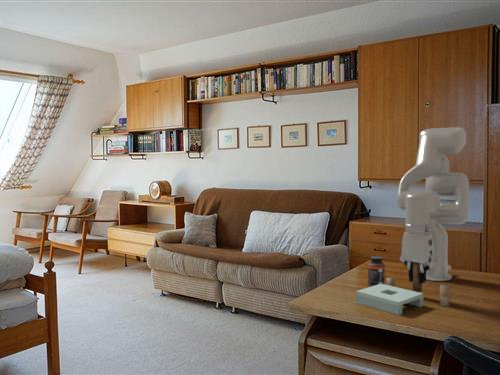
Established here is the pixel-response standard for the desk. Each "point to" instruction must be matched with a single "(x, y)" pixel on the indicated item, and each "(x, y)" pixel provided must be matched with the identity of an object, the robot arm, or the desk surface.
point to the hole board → (388, 298)
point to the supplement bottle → (376, 271)
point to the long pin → (416, 278)
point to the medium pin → (444, 295)
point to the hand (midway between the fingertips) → (417, 281)
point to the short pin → (391, 281)
